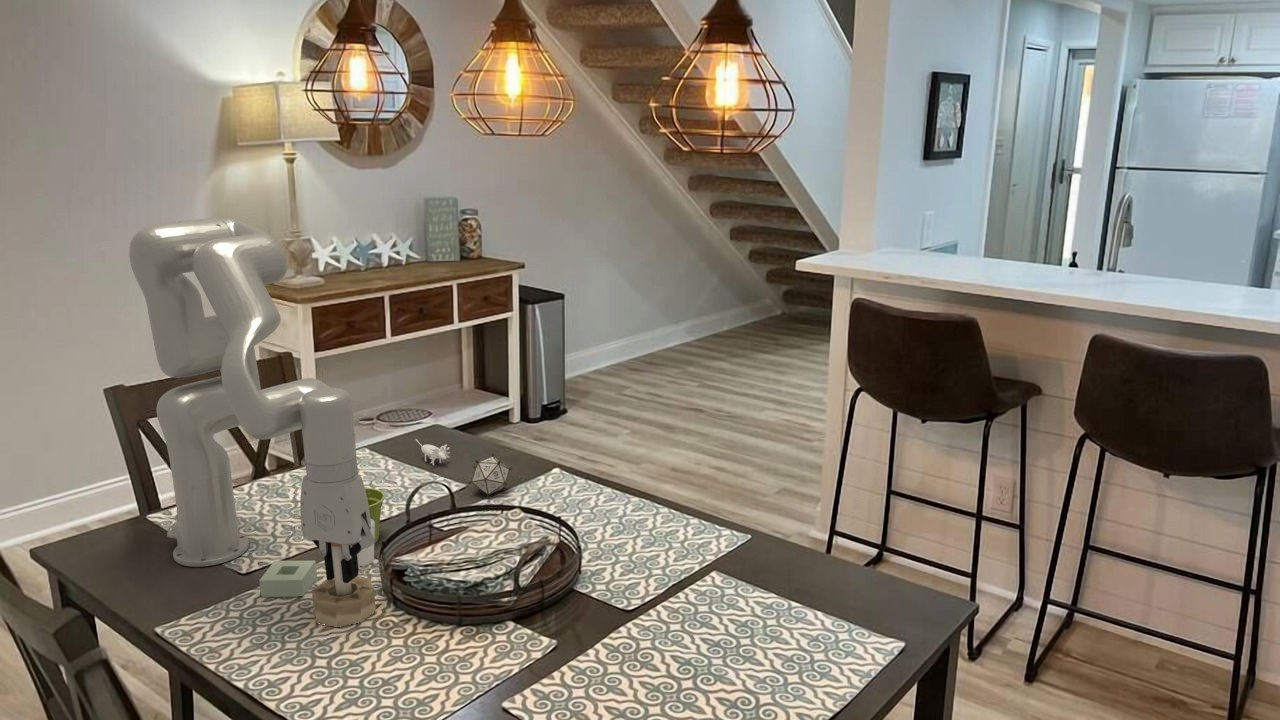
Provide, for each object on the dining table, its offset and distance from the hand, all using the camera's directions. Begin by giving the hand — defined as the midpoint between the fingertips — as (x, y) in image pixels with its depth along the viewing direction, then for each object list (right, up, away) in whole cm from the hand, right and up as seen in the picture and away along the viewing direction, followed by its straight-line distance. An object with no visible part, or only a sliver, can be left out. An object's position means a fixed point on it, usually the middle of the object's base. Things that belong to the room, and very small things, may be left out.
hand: (342, 576), depth 152 cm
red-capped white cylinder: (0, -4, +1) cm, 4 cm away
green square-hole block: (-12, -4, +10) cm, 16 cm away
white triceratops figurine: (-1, +11, +67) cm, 68 cm away
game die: (+16, +6, +48) cm, 52 cm away
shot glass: (-3, -2, +19) cm, 20 cm away
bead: (0, -6, +2) cm, 6 cm away
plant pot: (-5, 0, +27) cm, 27 cm away
